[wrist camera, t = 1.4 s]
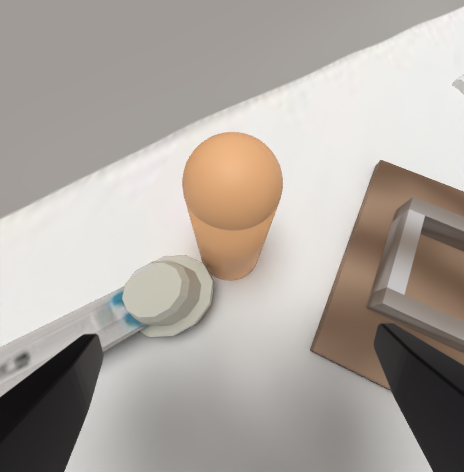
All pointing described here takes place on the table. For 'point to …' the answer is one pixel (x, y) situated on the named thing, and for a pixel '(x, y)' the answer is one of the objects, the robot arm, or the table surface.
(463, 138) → the table surface
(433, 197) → the jig
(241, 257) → the ball
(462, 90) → the external hard drive
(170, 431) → the table surface
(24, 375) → the grey cylindrical tool
